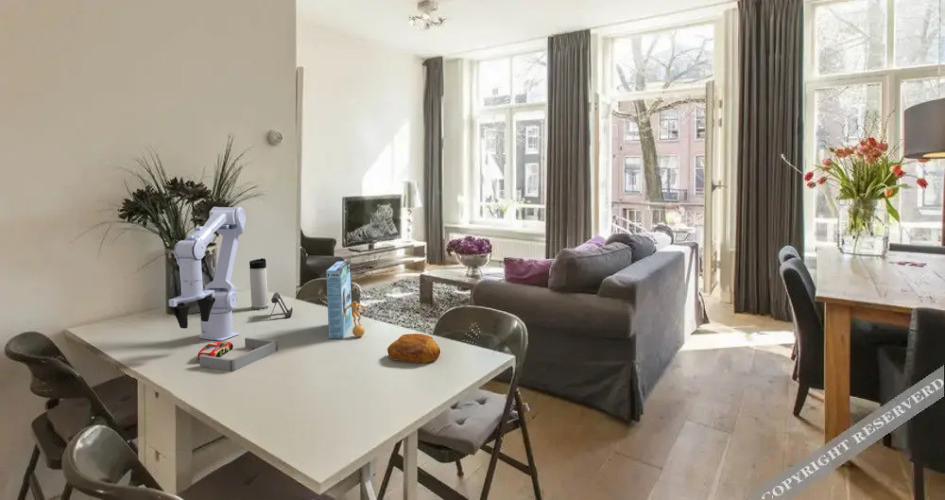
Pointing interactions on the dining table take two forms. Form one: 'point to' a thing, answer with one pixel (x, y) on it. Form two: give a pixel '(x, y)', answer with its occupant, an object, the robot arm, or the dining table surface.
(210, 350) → the race car
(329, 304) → the blue product box
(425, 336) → the croissant
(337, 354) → the dining table surface
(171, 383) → the dining table surface
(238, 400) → the dining table surface
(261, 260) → the travel mug
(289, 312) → the portable electronic device stand
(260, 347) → the grey u-shaped wall
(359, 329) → the figurine
